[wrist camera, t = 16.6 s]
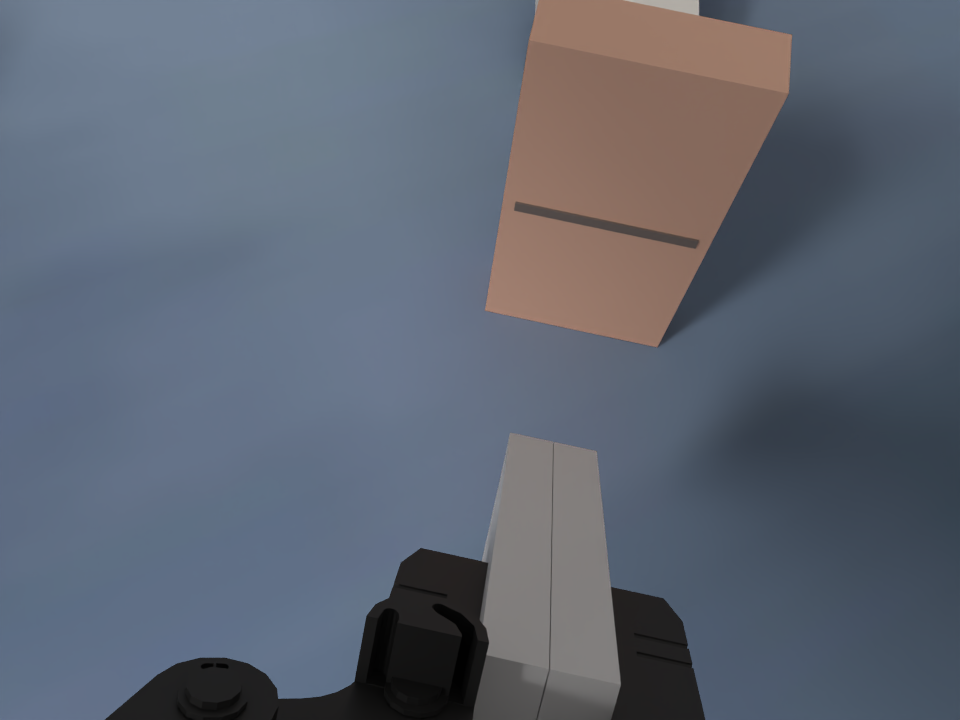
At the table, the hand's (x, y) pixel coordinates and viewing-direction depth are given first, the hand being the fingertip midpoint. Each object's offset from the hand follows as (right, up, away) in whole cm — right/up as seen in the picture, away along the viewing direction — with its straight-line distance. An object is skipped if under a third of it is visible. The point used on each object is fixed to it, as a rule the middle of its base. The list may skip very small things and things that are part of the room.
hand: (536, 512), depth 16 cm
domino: (+2, +4, +10) cm, 11 cm away
